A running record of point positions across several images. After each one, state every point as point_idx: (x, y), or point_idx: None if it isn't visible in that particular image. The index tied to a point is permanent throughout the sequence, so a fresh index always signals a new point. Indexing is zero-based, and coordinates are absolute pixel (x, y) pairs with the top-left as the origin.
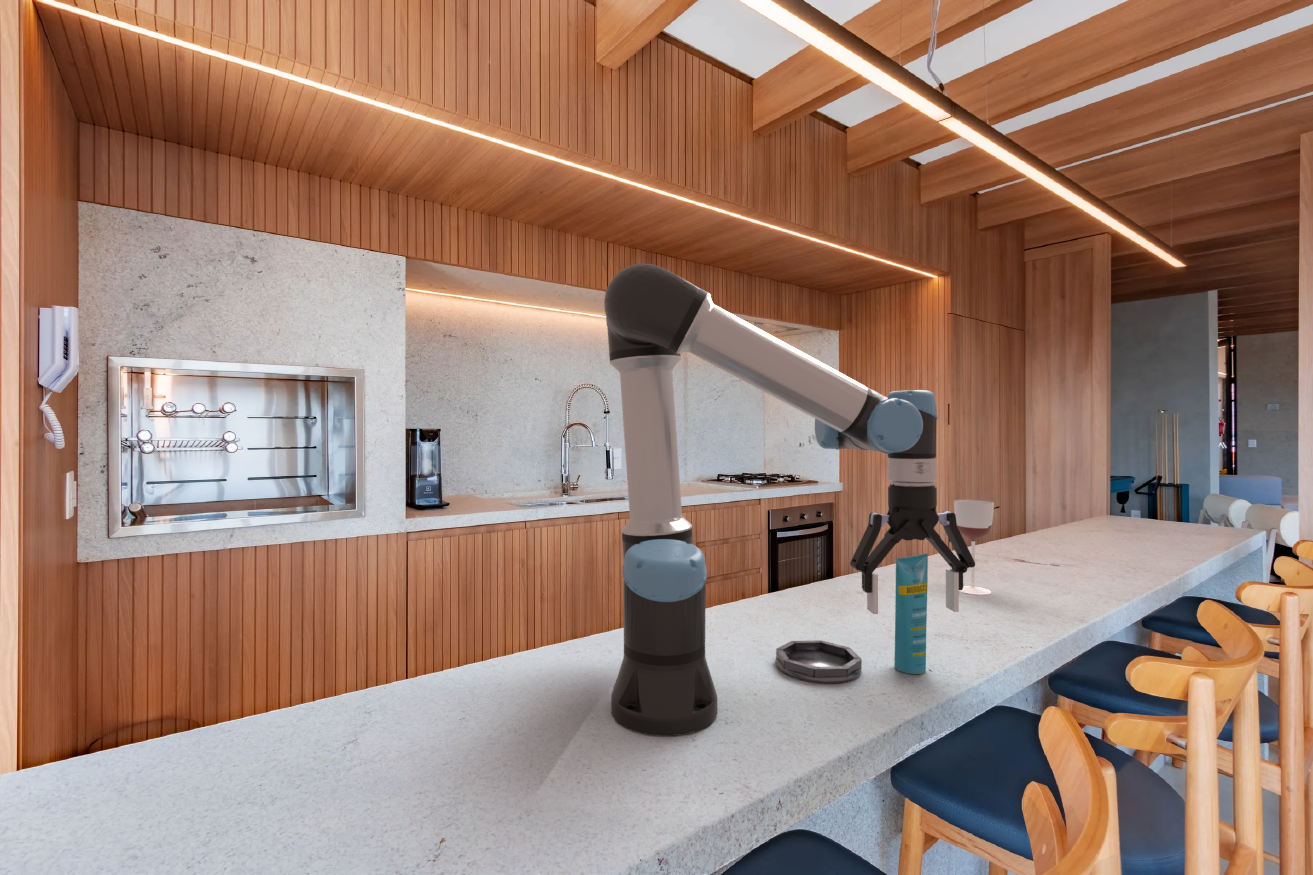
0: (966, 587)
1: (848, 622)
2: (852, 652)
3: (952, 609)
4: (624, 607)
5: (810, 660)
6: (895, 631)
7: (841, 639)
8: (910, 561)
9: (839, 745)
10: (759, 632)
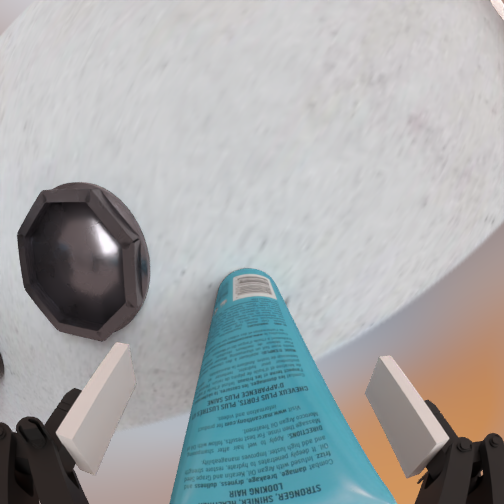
0: (499, 4)
1: (256, 9)
2: (130, 271)
3: (368, 388)
4: None
5: (66, 254)
6: (208, 334)
7: (180, 104)
8: None
9: None
10: (47, 78)
